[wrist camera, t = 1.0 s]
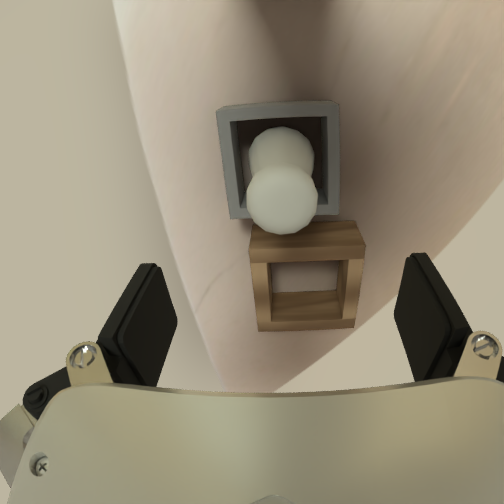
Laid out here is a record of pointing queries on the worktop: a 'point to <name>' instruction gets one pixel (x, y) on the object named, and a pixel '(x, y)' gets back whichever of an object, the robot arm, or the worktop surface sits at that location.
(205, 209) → the worktop surface
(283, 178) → the salt shaker
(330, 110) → the grey open tray
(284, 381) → the worktop surface
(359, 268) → the brown wooden open box
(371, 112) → the worktop surface
